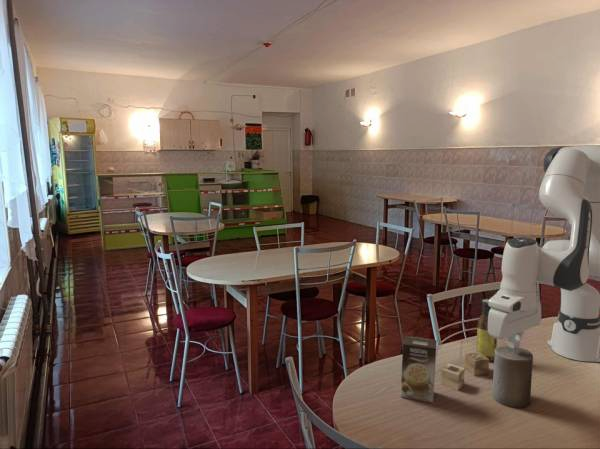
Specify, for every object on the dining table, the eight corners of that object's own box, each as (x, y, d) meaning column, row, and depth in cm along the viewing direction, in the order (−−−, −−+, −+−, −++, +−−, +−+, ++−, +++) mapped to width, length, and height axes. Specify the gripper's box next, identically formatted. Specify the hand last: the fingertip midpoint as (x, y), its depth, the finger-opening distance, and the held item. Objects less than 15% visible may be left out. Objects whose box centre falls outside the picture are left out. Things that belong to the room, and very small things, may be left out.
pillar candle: (538, 404, 119) (542, 352, 117) (510, 411, 116) (514, 357, 114) (510, 387, 128) (513, 338, 126) (483, 393, 125) (486, 343, 123)
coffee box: (399, 397, 123) (401, 343, 121) (402, 386, 129) (403, 334, 127) (433, 403, 120) (436, 348, 118) (434, 391, 126) (436, 338, 124)
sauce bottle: (498, 362, 144) (501, 304, 141) (477, 361, 145) (481, 303, 142) (493, 354, 150) (497, 298, 147) (474, 352, 151) (477, 297, 148)
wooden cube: (478, 367, 141) (479, 351, 140) (488, 374, 136) (489, 358, 135) (464, 368, 140) (465, 353, 139) (474, 376, 135) (475, 360, 134)
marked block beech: (447, 378, 134) (448, 362, 133) (463, 384, 130) (464, 367, 130) (440, 385, 130) (441, 368, 129) (457, 390, 127) (458, 374, 126)
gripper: (527, 289, 126) (523, 334, 128) (484, 301, 115) (481, 351, 117) (549, 294, 121) (545, 341, 123) (507, 308, 110) (503, 359, 112)
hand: (513, 346), depth 120 cm, fingers closed
